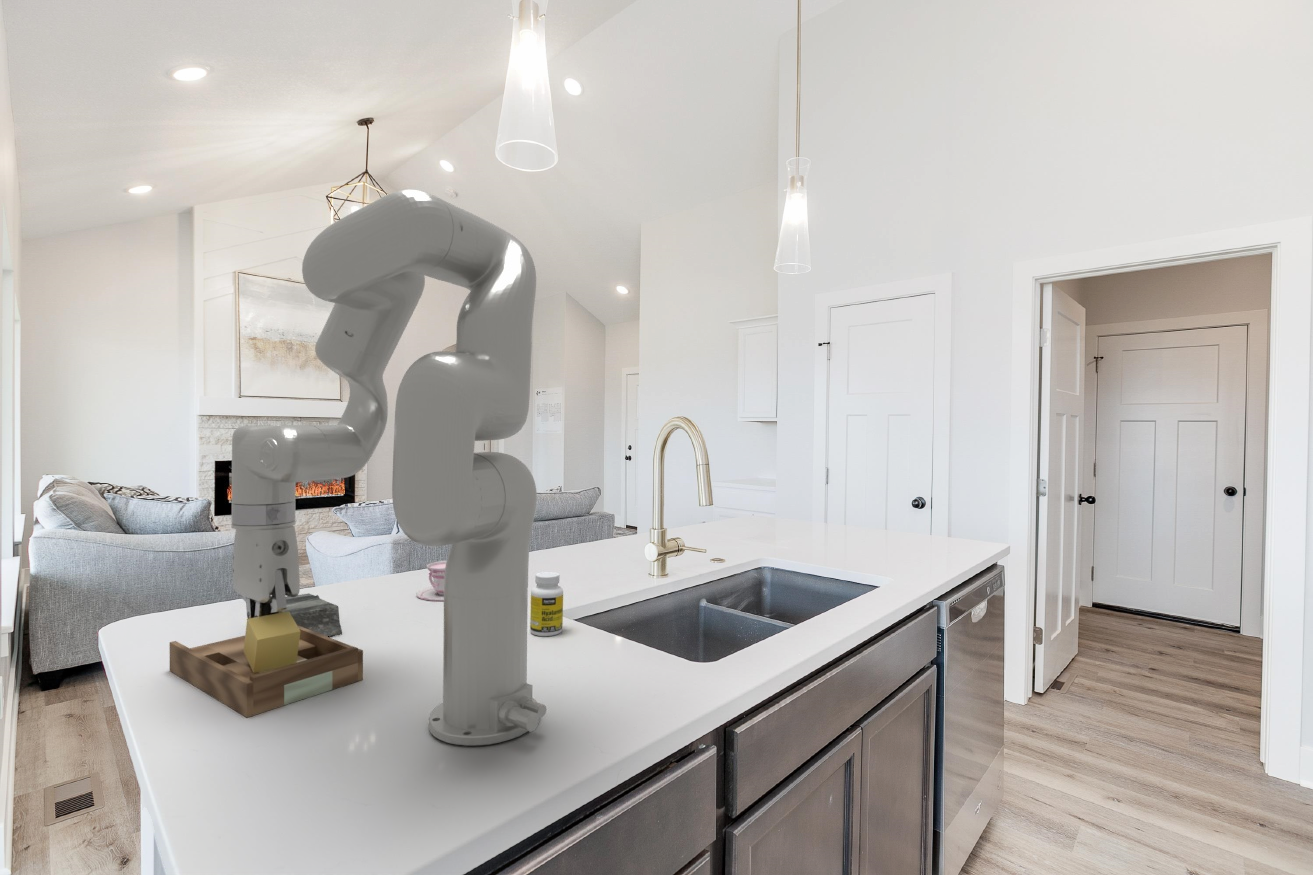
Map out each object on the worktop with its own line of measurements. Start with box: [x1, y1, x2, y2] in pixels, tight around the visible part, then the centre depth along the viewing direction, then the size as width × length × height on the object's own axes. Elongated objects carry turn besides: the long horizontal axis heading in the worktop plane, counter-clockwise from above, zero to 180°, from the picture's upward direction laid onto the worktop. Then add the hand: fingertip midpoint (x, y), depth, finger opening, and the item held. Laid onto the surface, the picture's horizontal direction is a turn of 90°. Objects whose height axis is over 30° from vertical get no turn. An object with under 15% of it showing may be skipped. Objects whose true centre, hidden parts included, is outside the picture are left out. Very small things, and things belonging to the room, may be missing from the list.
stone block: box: [280, 592, 343, 637], centre depth 109 cm, size 9×14×5 cm, turn 46°
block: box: [244, 612, 300, 673], centre depth 86 cm, size 5×5×5 cm
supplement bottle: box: [529, 571, 564, 637], centre depth 109 cm, size 5×5×10 cm
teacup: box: [416, 559, 447, 602], centre depth 133 cm, size 12×12×6 cm
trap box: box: [169, 625, 364, 718], centre depth 89 cm, size 24×14×4 cm, turn 55°
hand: (263, 647), depth 89 cm, fingers closed
